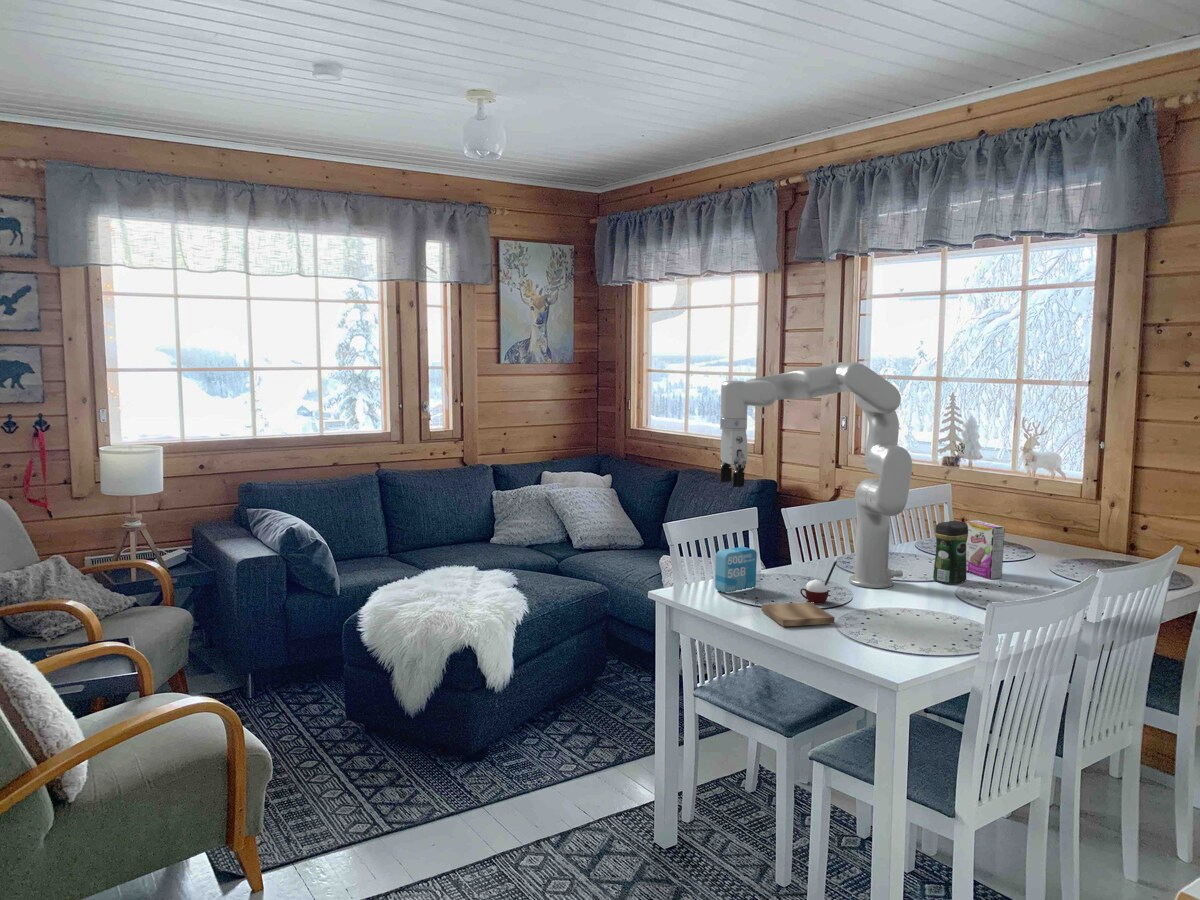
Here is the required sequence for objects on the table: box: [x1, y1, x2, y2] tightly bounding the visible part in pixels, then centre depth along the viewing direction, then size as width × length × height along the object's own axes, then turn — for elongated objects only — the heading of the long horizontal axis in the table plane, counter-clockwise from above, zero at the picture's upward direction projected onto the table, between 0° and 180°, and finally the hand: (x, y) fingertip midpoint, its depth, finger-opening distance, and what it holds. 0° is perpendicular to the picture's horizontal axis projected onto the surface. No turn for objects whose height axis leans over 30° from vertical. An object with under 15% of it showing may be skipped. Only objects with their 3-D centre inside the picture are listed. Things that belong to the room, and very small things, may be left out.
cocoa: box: [800, 560, 838, 604], centre depth 249 cm, size 10×6×12 cm, turn 42°
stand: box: [761, 601, 835, 628], centre depth 235 cm, size 14×14×2 cm
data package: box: [714, 546, 758, 593], centre depth 261 cm, size 12×4×12 cm, turn 123°
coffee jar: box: [932, 519, 968, 585], centre depth 273 cm, size 10×8×19 cm
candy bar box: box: [966, 519, 1006, 580], centre depth 281 cm, size 11×5×16 cm, turn 22°
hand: (731, 484), depth 258 cm, fingers open, 9 cm apart
